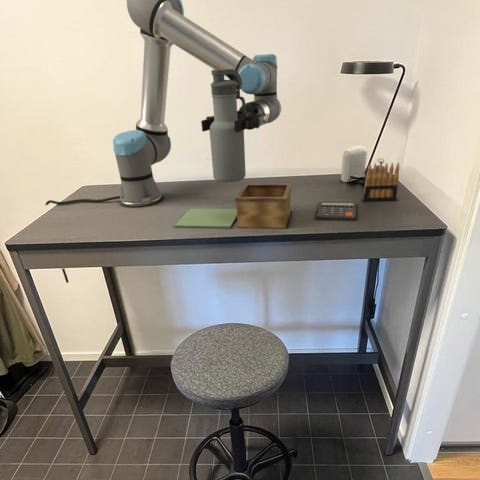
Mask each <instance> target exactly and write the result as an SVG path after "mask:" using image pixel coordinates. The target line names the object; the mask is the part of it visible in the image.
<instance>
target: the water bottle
mask: <svg viewBox="0 0 480 480" xmlns="http://www.w3.org/2000/svg"><path fill="white" fill-rule="evenodd" d="M224 75H226V76H228V78H229V79H228V78H227V79H225V76H224ZM211 76H212V82H211V83H210V90H211V91H210V93H211V97H212V108H213V109H212V110H213V116H214V122H213V123H212V124H211V125H210V128H209V130H208V131H209V140H210V141H209V142H210V153H211V154H210V155H211V164H212V176H213V179H214V180H215V181H216V182H220V183H235V182H239V181H242V180H243V179H245V178H246V172H247V171H246V151H245V149H246V148H245V130H242V131H239V132H235V122H234V121H237V120H238V118H237V117H244V116H245V113H246V112H245V103H246V99H245V98H244V96H241V89H242V80H241V77H240V75H239V73H238V72H237V71H236V70H234V69H220V70H214V69H211ZM238 100H240V102H241V106H242V114H241V115H237V111H238V102H237V101H238Z"/></svg>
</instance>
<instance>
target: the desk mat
mask: <svg viewBox="0 0 480 480" xmlns="http://www.w3.org/2000/svg"><path fill="white" fill-rule="evenodd" d="M236 219H237V208H189V209H188V210H187V211H186V212H185V213H184V214H183V215H182V217H181V218H179V219H178V221H177V222H176V223H175V224H174V228H202V229H203V228H206V229H212V228H213V229H231V228H232V226H233V225H234V223H235V221H236Z"/></svg>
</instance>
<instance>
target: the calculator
mask: <svg viewBox="0 0 480 480" xmlns="http://www.w3.org/2000/svg"><path fill="white" fill-rule="evenodd" d="M356 210H357V202H356V201H334V200H333V201H332V200H331V201H330V200H328V201H327V200H321V201H319V204H318V208H317V212H316V217H315V218H316V220H345V221H346V220H349V221H354V220H356V212H357V211H356Z"/></svg>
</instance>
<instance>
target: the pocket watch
mask: <svg viewBox="0 0 480 480" xmlns="http://www.w3.org/2000/svg"><path fill="white" fill-rule="evenodd" d="M377 162H378V163H379V164H378V165H377V172H376V179H377V175H378V170H379V166H380V164H381V163H382V164H384V163H385V160H384V159H383V158H381V160H380V158H378V159H377ZM384 168H385V165H382V176H383V172H384ZM372 173H373V168H371V177H372ZM388 175H389V172H388V173H387V179H388ZM381 182H382V181H381Z"/></svg>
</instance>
